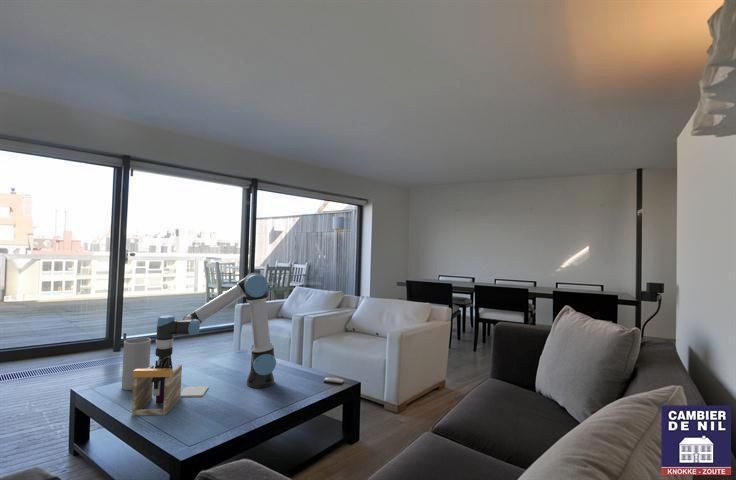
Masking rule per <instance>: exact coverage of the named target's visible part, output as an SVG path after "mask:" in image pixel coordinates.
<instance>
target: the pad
mask: <svg viewBox="0 0 736 480" xmlns="http://www.w3.org/2000/svg"><path fill="white" fill-rule="evenodd" d="M182 389H183V390H181V395H180V398H201V397H202V398H203V397H204V395H205V394H206V392H207V391H208V390H209V386H185V387H184V388H182Z"/></svg>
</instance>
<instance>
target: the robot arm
mask: <svg viewBox="0 0 736 480" xmlns="http://www.w3.org/2000/svg"><path fill="white" fill-rule="evenodd" d="M268 288H269V282H268V279H267V278H266V277H265V276H264V275H263V274H261V273H259V272H251V273H248V274H247V275H246V276H245V277H243V278H241V280H239V281H237V282H236V284H235V285H234V286H233V287H231V288H230V289H228V290H226V291H224V292H223V293H221V294H219V295H218V296H217V297H215V298H213V299H211V300H209V301H208V302H207V303H205V304H204V305H202V306H200V307H198V308H196V309H195V310H194V311H192V312H191V313H187V314H186V315H185V316H184V317H183V318H182V319H176V318H175V316H174V315H168V314H166V315H161V316H159V317H158V318H157V323H156V338H155V339H156V340H155V347H156V348H155V357H158V360H155V364H154V369H159V368H173V362H172V354H173V349H174V347H173V346H174V336H184V335H185V336H187V335H188V336H189V335H190V336H193V335H198V334H199V333H200V330H201V329H200V328H201V324H202V323H203V322H205V321H207V320H209V318H211V317H214V316H215V315H216V314H218V313H219V312H221V311H222V310H224V309H226V308H227V307H229V306H230V305H232V304H234V303H235V302H237V301H239V300H240V299H242V298H243V297H245V300H246V302H248V304H249V312H250V320H251V329H252V340H253V344H252V345H251V349H250V350H251V354H250V355H251V356H250V371H249V374H248V376H247V379H246V386H247V387H249V388H256V389H263V388H264V389H265V388H267V387H272V385H274V383H275V377H274V374H273V371H274V370H275V368H276V366H277V359H276V358H275V357H276V356H275V348H274V345H273V343H271V338H270V327H269V319H268V309H267V299H268V298H269V291H268ZM160 378H161V377H153V378H152V382H153V390H152V396H156V395H160Z"/></svg>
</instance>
